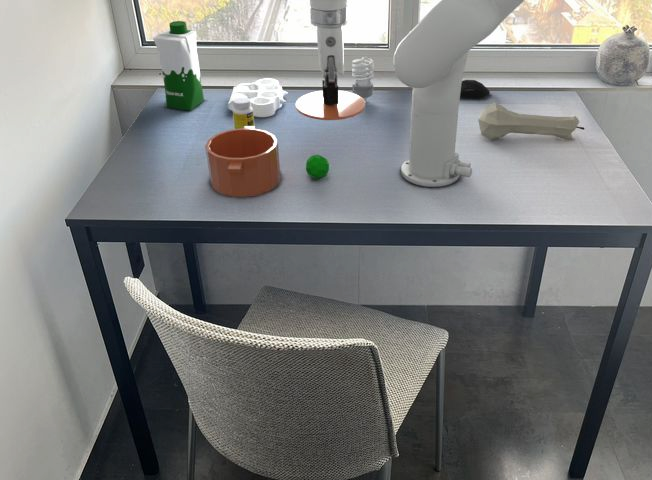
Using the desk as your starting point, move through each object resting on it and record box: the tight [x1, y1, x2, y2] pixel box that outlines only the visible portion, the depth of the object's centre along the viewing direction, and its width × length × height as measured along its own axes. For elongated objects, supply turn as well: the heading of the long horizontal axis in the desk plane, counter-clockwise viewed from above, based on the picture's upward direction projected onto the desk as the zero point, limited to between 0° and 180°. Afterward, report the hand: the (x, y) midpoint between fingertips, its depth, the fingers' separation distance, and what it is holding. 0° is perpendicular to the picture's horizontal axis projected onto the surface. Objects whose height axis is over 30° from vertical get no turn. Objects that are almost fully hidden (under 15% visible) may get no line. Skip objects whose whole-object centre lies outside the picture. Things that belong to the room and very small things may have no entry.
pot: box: [204, 125, 281, 198], centre depth 142 cm, size 14×20×8 cm
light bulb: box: [351, 56, 375, 103], centre depth 174 cm, size 6×6×12 cm
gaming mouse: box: [460, 79, 491, 100], centre depth 181 cm, size 6×15×4 cm, turn 81°
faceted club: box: [478, 102, 585, 141], centre depth 159 cm, size 9×8×25 cm
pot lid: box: [295, 85, 366, 121], centre depth 150 cm, size 15×15×6 cm
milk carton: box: [152, 20, 205, 112], centre depth 171 cm, size 9×9×20 cm
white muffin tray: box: [227, 78, 289, 118], centre depth 177 cm, size 3×18×15 cm
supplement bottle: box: [232, 97, 255, 129], centre depth 160 cm, size 5×5×8 cm
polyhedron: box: [305, 154, 330, 179], centre depth 144 cm, size 5×5×5 cm
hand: (330, 100), depth 150 cm, fingers closed on pot lid, 2 cm apart
